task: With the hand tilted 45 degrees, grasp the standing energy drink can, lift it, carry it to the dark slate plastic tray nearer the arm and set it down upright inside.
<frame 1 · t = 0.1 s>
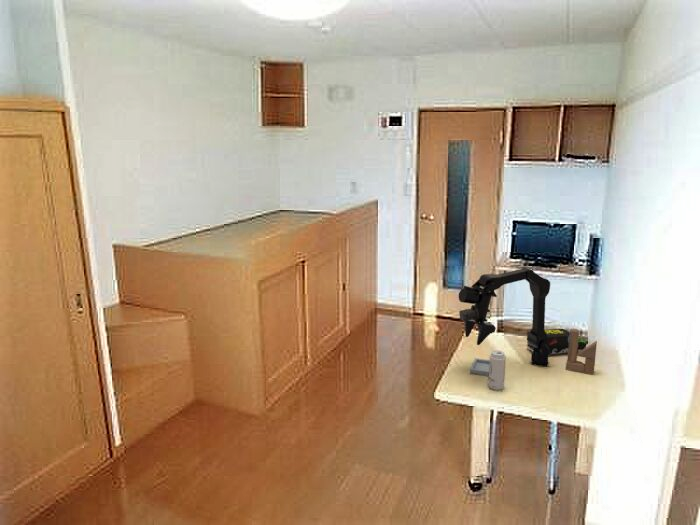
hand: (472, 340, 214), 15 cm above the table, tool pointing down, fingers open, 9 cm apart
toy van: (555, 352, 239), on the table
tray: (486, 369, 222), on the table
energy drink can: (496, 388, 206), on the table
brown angular piece: (579, 371, 220), on the table
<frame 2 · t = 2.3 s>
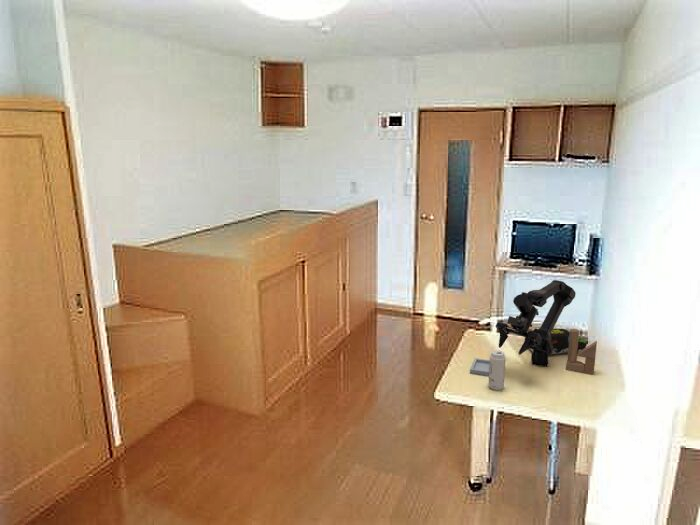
hand: (509, 350, 208), 13 cm above the table, tool tilted 45°, fingers open, 9 cm apart
nothing on the table moved.
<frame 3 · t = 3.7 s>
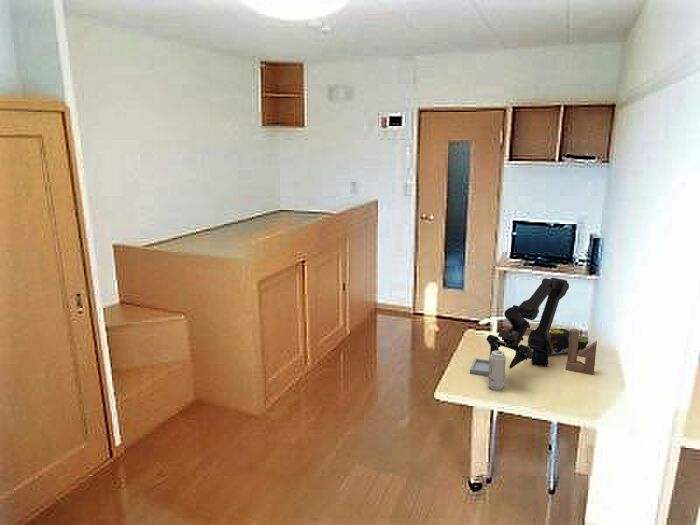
hand: (499, 364, 205), 10 cm above the table, tool tilted 45°, fingers open, 9 cm apart
nothing on the table moved.
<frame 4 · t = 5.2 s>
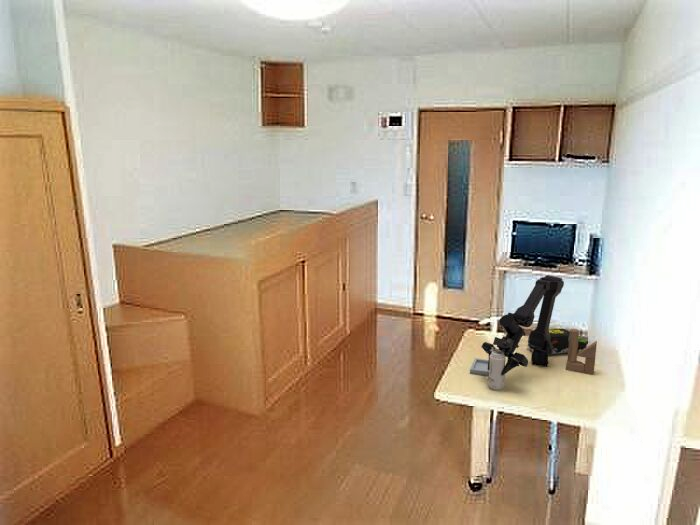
hand: (494, 372, 204), 7 cm above the table, tool tilted 45°, fingers closed on energy drink can, 6 cm apart
energy drink can: (496, 388, 206), on the table, touching gripper
everything else where it was.
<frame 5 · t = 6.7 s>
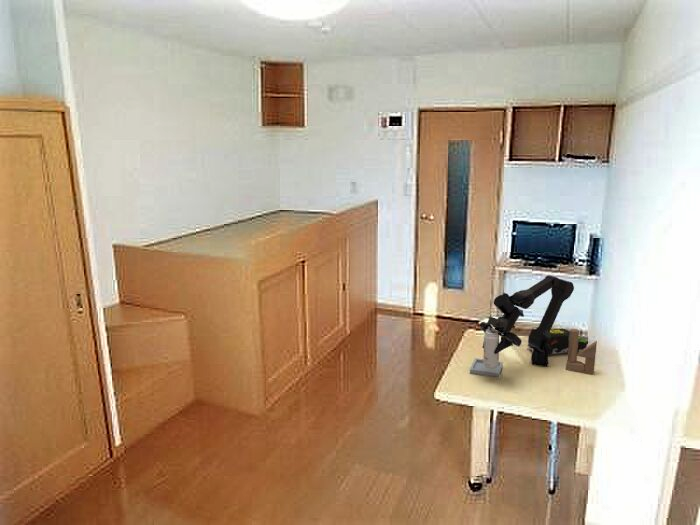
hand: (488, 350, 209), 13 cm above the table, tool tilted 45°, fingers closed on energy drink can, 6 cm apart
energy drink can: (490, 366, 212), point 6 cm above the table, touching gripper
everything else where it was.
when the fingers open (9 cm above the table, at t = 8.5 s): energy drink can stays where it is, resting on tray.
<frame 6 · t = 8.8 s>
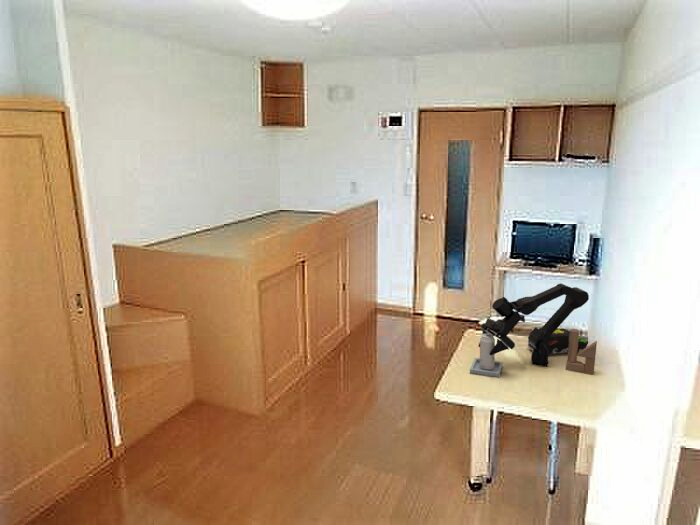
hand: (484, 350, 219), 9 cm above the table, tool tilted 45°, fingers open, 8 cm apart
energy drink can: (487, 368, 222), resting on tray
everything else where it was.
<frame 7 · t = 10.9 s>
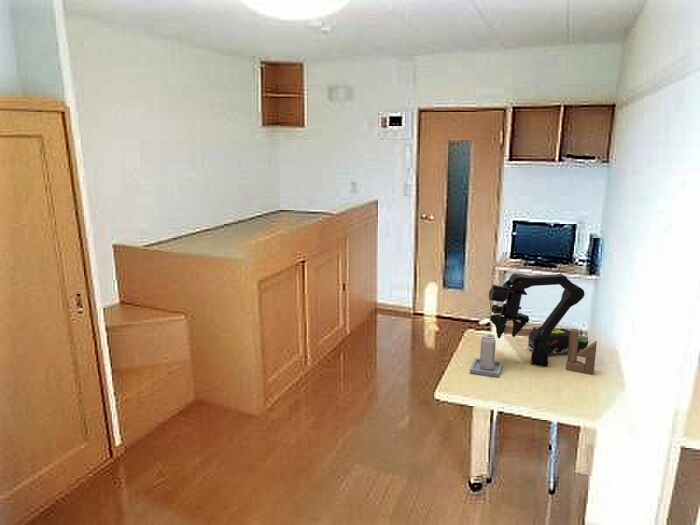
hand: (505, 337, 224), 13 cm above the table, tool pointing down, fingers open, 9 cm apart
nothing on the table moved.
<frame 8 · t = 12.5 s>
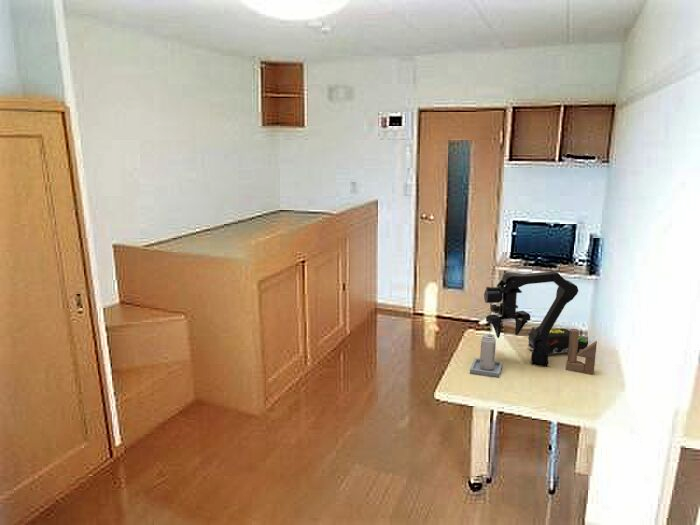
hand: (507, 336, 224), 13 cm above the table, tool pointing down, fingers open, 9 cm apart
nothing on the table moved.
at the end: energy drink can inside the target area on the tray (0.2 cm from its centre), point 0.4 cm above the tray's base; energy drink can tilted 0°; the gripper is holding nothing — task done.
